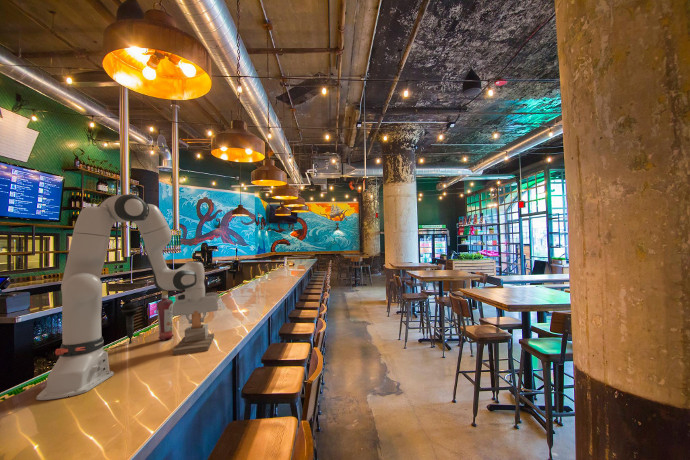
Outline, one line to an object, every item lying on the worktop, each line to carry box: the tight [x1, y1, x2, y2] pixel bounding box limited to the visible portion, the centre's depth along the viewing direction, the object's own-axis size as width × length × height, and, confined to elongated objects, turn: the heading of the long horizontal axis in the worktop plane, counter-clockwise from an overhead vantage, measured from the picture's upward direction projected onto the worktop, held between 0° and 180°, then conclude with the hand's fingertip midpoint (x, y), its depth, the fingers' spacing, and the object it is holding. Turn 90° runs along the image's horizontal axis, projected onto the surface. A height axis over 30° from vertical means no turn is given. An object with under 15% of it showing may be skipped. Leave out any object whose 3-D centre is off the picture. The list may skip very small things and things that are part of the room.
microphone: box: [120, 302, 139, 344], centre depth 159 cm, size 7×7×20 cm
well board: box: [172, 323, 215, 356], centre depth 150 cm, size 22×14×8 cm, turn 16°
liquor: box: [156, 291, 174, 341], centre depth 164 cm, size 7×7×28 cm
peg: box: [191, 311, 202, 329], centre depth 155 cm, size 4×4×12 cm
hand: (196, 322), depth 155 cm, fingers closed on peg, 4 cm apart
